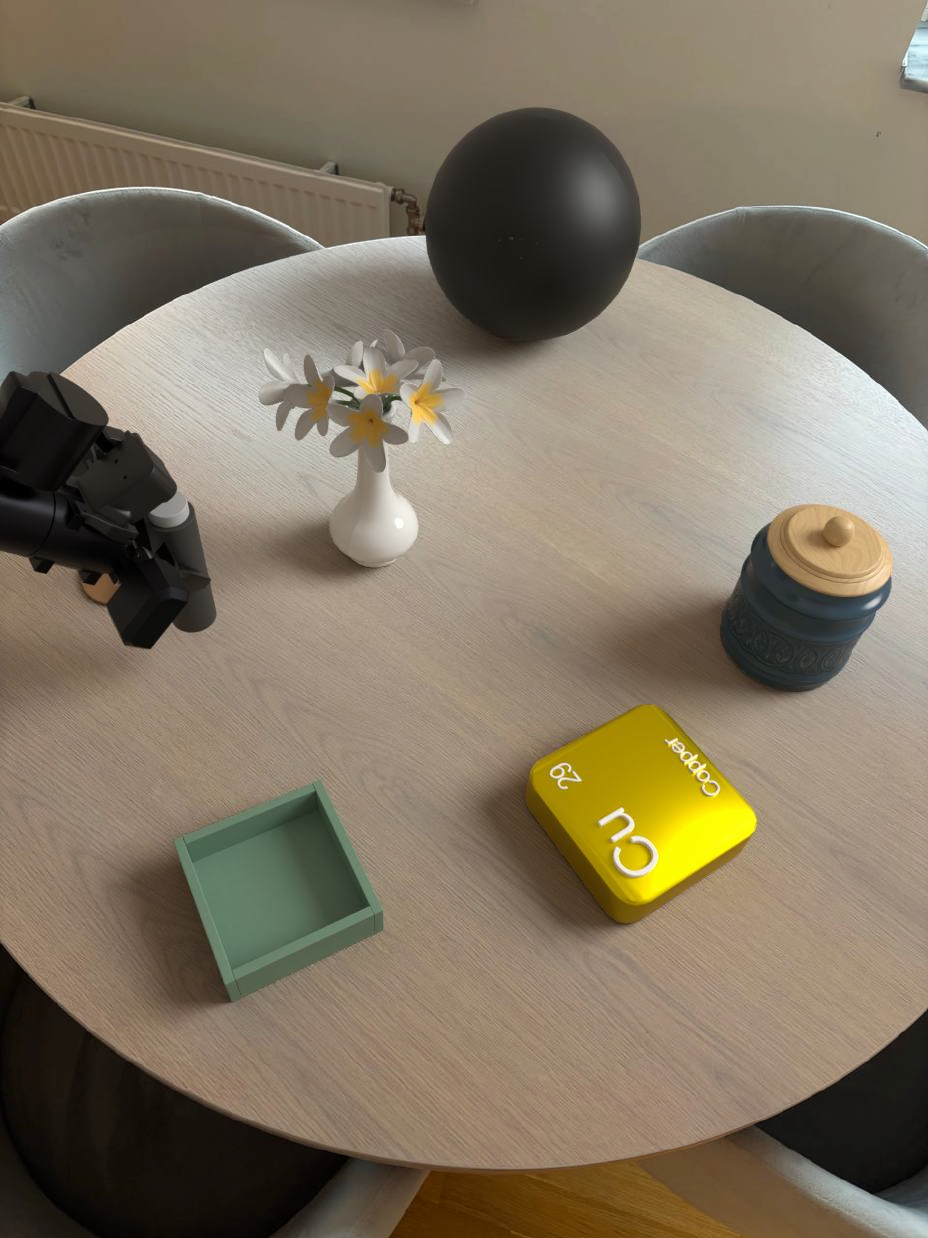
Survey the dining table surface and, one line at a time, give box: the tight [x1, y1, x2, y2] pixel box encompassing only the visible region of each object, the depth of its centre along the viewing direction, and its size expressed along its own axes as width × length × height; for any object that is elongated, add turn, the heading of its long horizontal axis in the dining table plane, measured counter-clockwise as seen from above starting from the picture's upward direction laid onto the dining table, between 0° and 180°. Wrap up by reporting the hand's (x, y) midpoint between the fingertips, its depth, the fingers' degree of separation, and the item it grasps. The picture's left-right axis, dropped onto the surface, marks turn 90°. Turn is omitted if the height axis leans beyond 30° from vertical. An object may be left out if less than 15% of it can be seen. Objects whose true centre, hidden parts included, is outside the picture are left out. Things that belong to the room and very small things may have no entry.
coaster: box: [80, 574, 121, 606], centre depth 97 cm, size 8×8×1 cm
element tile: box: [524, 703, 758, 925], centre depth 82 cm, size 15×15×5 cm
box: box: [172, 779, 384, 1003], centre depth 76 cm, size 13×13×4 cm
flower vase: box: [257, 328, 467, 569], centre depth 92 cm, size 13×18×25 cm
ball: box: [424, 106, 642, 342], centre depth 119 cm, size 27×27×27 cm
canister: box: [719, 503, 894, 692], centre depth 90 cm, size 13×13×18 cm
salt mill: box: [143, 490, 218, 634], centre depth 81 cm, size 4×4×14 cm
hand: (198, 566), depth 82 cm, fingers closed on salt mill, 4 cm apart
